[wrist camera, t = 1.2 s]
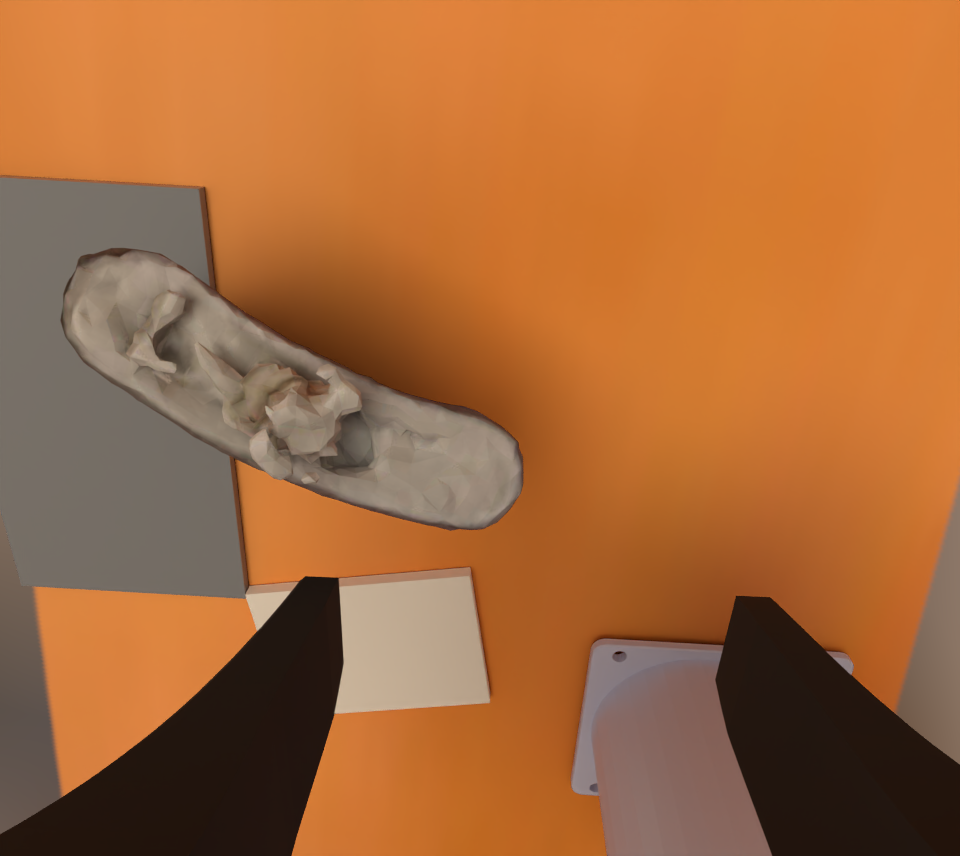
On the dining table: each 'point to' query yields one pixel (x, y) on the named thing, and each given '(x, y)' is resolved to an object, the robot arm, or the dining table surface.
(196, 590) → the board
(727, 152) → the dining table surface
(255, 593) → the napkin
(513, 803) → the dining table surface
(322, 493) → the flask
